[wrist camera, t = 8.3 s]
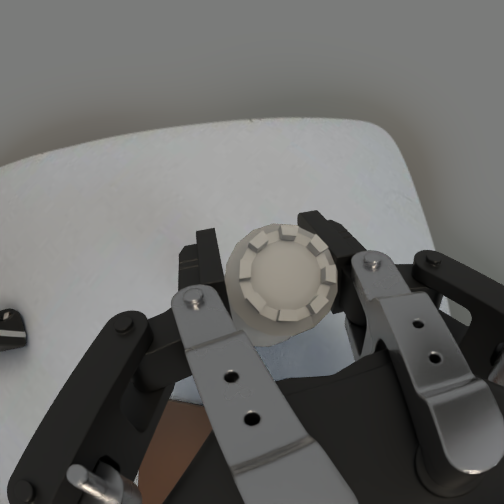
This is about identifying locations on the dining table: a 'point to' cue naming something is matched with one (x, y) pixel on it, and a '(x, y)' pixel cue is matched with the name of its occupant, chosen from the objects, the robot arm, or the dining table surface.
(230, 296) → the rook chess piece
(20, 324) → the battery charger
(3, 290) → the dining table surface
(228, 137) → the dining table surface
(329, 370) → the dining table surface
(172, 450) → the serving board
